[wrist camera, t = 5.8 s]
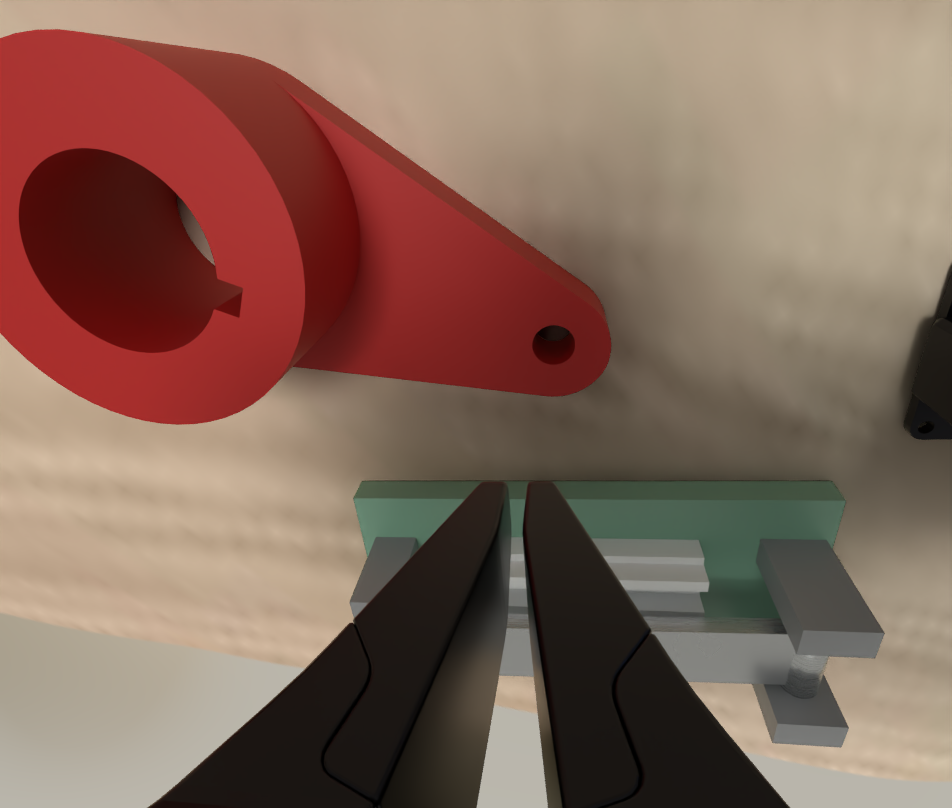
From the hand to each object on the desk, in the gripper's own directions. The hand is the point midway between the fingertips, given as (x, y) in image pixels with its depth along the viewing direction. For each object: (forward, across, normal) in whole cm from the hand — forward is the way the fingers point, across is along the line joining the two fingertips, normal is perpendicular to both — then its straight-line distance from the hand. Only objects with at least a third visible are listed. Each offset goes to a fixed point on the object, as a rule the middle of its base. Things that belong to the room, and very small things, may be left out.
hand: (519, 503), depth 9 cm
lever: (+12, +6, -1) cm, 14 cm away
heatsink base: (+12, -2, +13) cm, 18 cm away
